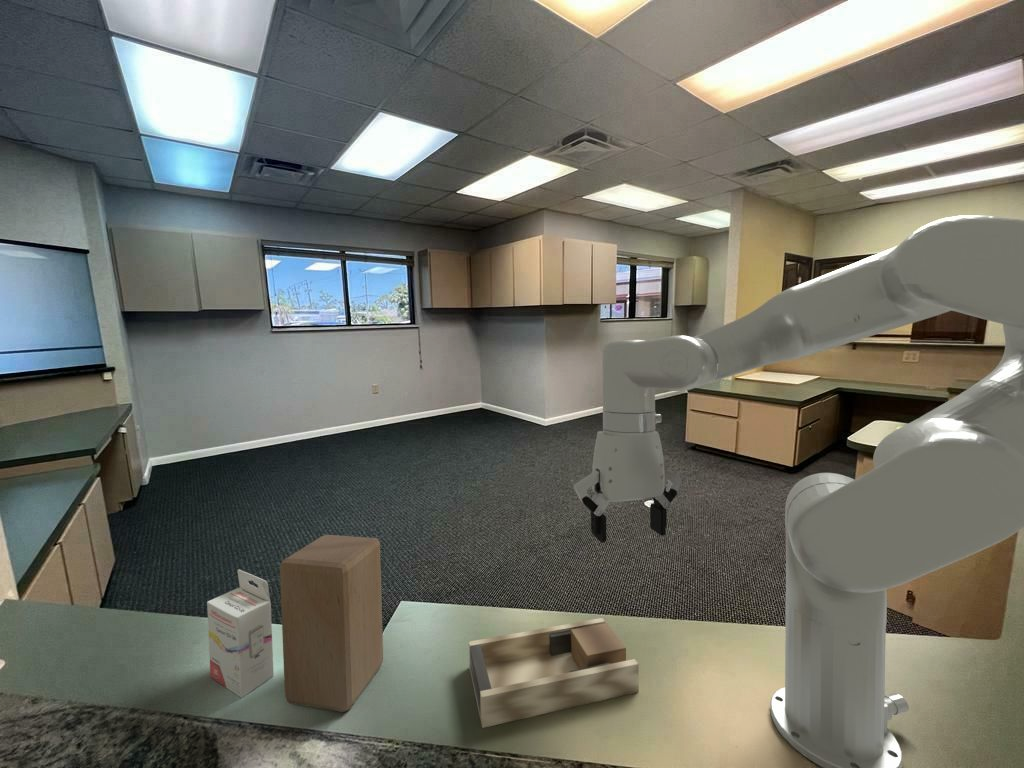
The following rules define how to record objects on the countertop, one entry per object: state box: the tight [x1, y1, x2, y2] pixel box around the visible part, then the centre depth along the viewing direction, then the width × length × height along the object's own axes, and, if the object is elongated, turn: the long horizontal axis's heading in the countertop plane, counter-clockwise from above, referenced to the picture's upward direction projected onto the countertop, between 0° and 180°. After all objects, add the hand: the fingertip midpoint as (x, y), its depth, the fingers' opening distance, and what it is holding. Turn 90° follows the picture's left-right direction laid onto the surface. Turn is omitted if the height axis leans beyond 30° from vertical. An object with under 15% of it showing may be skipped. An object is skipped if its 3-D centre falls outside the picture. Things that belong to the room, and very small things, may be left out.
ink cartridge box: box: [206, 568, 275, 698], centre depth 61 cm, size 9×5×15 cm, turn 62°
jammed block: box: [571, 622, 627, 669], centre depth 62 cm, size 6×6×4 cm
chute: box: [468, 617, 640, 729], centre depth 60 cm, size 22×11×4 cm, turn 104°
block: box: [279, 534, 384, 713], centre depth 60 cm, size 10×10×20 cm
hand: (629, 535), depth 63 cm, fingers open, 9 cm apart
